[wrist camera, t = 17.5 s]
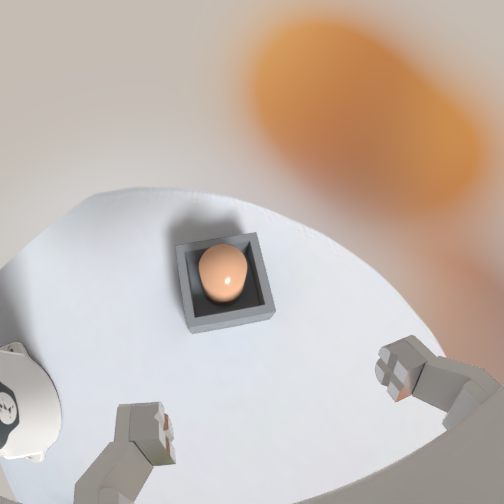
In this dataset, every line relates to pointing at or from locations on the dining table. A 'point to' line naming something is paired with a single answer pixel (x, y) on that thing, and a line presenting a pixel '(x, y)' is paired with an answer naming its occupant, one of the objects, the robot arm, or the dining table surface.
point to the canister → (223, 274)
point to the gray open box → (253, 295)
